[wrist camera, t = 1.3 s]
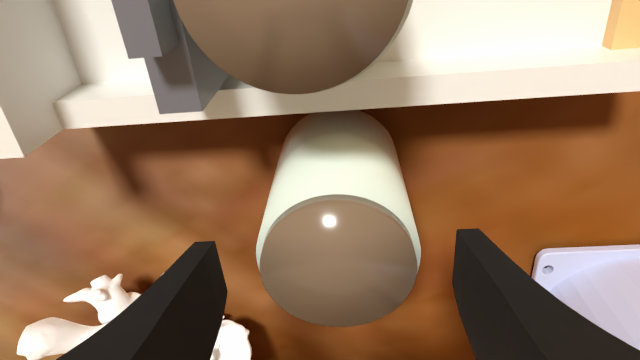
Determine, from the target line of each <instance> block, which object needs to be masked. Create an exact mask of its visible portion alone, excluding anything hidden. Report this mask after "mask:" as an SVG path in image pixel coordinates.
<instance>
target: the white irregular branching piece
mask: <svg viewBox="0 0 640 360" xmlns="http://www.w3.org/2000/svg"><path fill="white" fill-rule="evenodd" d="M164 273H165V272H164ZM164 273H163V274H164ZM163 274H162V275H163ZM122 276H123V275H122V274H118V275H117V276H116V277H114V278H113V279H112V280H111V279H110V278H109V277H108V276H107V275H104V276H101V277H99V278H97V279H95V280H93V281H92V282H91V283H90V284H91V286H92V288H85V289H82V290H80V291H78V292H77V293H74V294H72V295H70V296H68V297H66V298H65V299H64V300H63V301H64V302H78V301H86V302H88V303H90V304H92V305H93V306H94V307H95V308H96V309H97V311H98V319H99V321H100V323H102V324H103V325H99V326H86V325H80V324H77V323H73V322H71V321H68V320H64V319H61V318H56V317H50V318H46V319H42V320H39V321H37V322H35V323H33V324H30V325H28V326H26V328H25V330H24V331H23V333H22V335H21V337H20V340H19V343H18V347H17V354H18V355H22V356H25V357H27V359H28V360H38V359H41V358H43V357H44V356H48V355H56V354H64V353H67V352H68V351H70V350H71V349H73V348H74V347H76V346H77V345H79V344H80V343H82V342H83V341H85V340H86V339H88V338H89V337H90V336H92V335H93V334H94V333H96V332H97V331H98V330H100V329H101V328H102V327H104V326H105V325H106V324H108V323H109V322H110V321H111V320H113V319H114V318H115V317H116V316H118V315H119V314H120V313H121V312H122V311H124V310H125V309H126V308H127V307H128V306H129V305H130V304H131V303H132V302H134V301H135V300H136V299H137V298H138V297H139V296H140V295H141V294H139V293H136V292H129V293H126V291H125V290H124V289H123V288H122V287H121V286H120V283H121V280H122ZM142 294H143V293H142ZM224 318H225V316H223V319H224ZM248 335H249V330H248V329H245V328H244V327H243V326H242V325H240V324H238V323H235V322H234V321H231V320H222V324H221V327H220V330H219V333H218V337H217V340H216V343H215V346H214V349H213V352H212V355H211V358H210V360H251V355H252V347H251V345H250V342H249V340H248Z"/></svg>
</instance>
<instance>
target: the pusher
mask: <svg viewBox="0 0 640 360" xmlns="http://www.w3.org/2000/svg"><path fill="white" fill-rule="evenodd" d="M111 1H112V5H113V8H114V11H115V15H116V18H117V21H118V25H119V28H120V32H121V35H122V38H123V42H124V45H125V48H126V52H127V55H128V58H129V59H135V58H144V60H145V64H146V68H147V71H148V75H149V78H150V82H151V85H152V89H153V92H154V96H155V99H156V103H157V107H158V110H159V114H171V113H186V112H200V111H203V110H204V108H205V107H206V106H207V105H208V103H209V102H210V101H211V99H212V98H213V97H214V95H215V94H216V93H217V91H218V90H219V89H220V87H221V86H222V85H223V83H224V82H225V81H226V80H227V78H228V77H229V76H230V75H229V74H228V73H226V72H225V71H224V70H222V69H221V68H220V67H218V66H217V65H216V64H215V63H214V62H213V61H212V60H210V59H209V58H208V57H207V55H206V54H205V53H204V52H203V51H202V50H201V49H200V48H199V47H198V45H197V44H196V43H195V41H194V40H193V38H192V37H191V36H190V34H189V33H188V31H187V29H186V27H185V26H184V24H183V22H182V20H181V18H180V16H179V14H178V11H177V9H176V6H175V4H174V1H173V0H111Z"/></svg>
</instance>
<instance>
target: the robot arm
mask: <svg viewBox="0 0 640 360" xmlns="http://www.w3.org/2000/svg"><path fill="white" fill-rule="evenodd" d="M548 265H549V266H548ZM545 266H548V267H547V268H544V267H545ZM452 284H453V288H454V293H455V297H456V301H457V305H458V309H459V314H460V316H461V319H462V322H463V325H464V327H465V330H466V333H467V336H468V338H469V341H470V344H471V346H472V349H473V352H474V354H475V357H476V360H640V245H617V246H593V247H569V248H548V249H543V250H541V251H540V252H539V253H538V254H537V255H536V258H535V263H534V267H533V272H532V277H530V276H529V275H528V274H527V273H526V272H525V271H523V270H522V269H521V268H520V267H519V266H518V265H517V264H515V263H514V262H513V261H512V260H511V259H510V258H509V257H508V256H507V255H506V254H505V253H504V252H503V251H501V250H500V249H499V248H498V247H497V246H496V245H495V244H494V243H493V242H492V241H491V240H490V239H489V238H488V237H487V236H486V235H485V234H484V233H483V232H482V231H480V230H479V229H458V230H457V234H456V245H455V257H454V268H453V279H452ZM227 292H228V291H227V287H226V283H225V279H224V276H223V272H222V268H221V264H220V260H219V256H218V252H217V248H216V244H215V241H207V242H195V243H194V244H193V245H192V246H190V247H189V248H188V249H187V250H186V251H185V252H184V253H183V254H182V255H181V256H180V257H179V259H178V260H177V261H176V262H175V263H174V264H173V265H172V266H171V267H170V268H169V269H168V270H167V271H166V272H165V273H164V274H163V275H161V276H160V277H159V278H158V279H157V280H156V281H155V282H154V283H153V284H152V285H151V286H150V287H149V288H148V289H147V290H146V291H145V292H144V293H143V294H141V295H140V296H139V297H138V298H137V299H136V300H135V301H134V302H132V303H131V304H130V305H129V306H128V307H127V308H126V309H125V310H124V311H122V312H121V313H120V314H119V315H118V316H116V317H115V318H114V319H113V320H111V321H110V322H109V323H108V324H106V325H105V326H104V327H102V328H101V329H100V330H98V331H97V332H96V333H94V334H93V335H92V336H90V337H89V338H88V339H86V340H85V341H83V342H82V343H80V344H79V345H77V346H76V347H74V348H73V349H71V350H70V351H68V352H67V353H65V354H64V355H62V356H61V357H59V358H58V359H56V360H210V358H211V355H212V352H213V349H214V346H215V343H216V340H217V337H218V333H219V330H220V327H221V324H222V320H223V314H224V309H225V304H226V298H227Z"/></svg>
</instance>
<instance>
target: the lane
mask: <svg viewBox="0 0 640 360" xmlns="http://www.w3.org/2000/svg"><path fill="white" fill-rule="evenodd" d="M631 91H640V0H413V3H412V6H411V9H410V12H409V15H408V17H407V19H406V21H405V23H404V25H403V27H402V30H401V31H400V33H399V34H398V36H397V37H396V39H395V41H394V42H393V44H392V45H391V46H390V47H389V49H388V50H387V51H386V52H385V54H384V55H383V56H382V57H381V58H380V59H379V60H378V61H377V62H376V63H375V64H374V65H373V66H372V67H370V68H369V69H368V70H366V71H365V72H364V73H362V74H361V75H360V76H358V77H356V78H354V79H353V80H351V81H349V82H347V83H345V84H343V85H340V86H338V87H335V88H333V89H329V90H326V91H322V92H317V93H310V94H281V93H273V92H269V91H265V90H261V89H258V88H255V87H253V86H250V85H248V84H245V83H243V82H241V81H240V80H238V79H236V78H234V77H232V76H231V75H230V76H229V77H228V78H227V80H226V81H225V82H224V83H223V85H222V86H221V87H220V89H219V90H218V91H217V93H216V94H215V95H214V97H213V98H212V99H211V101H210V102H209V103H208V105H207V106H206V107H205V108H204V110H203V111H200V112H186V113H171V114H159V110H158V107H157V103H156V99H155V96H154V92H153V89H152V85H151V82H150V78H149V75H148V71H147V68H146V64H145V60H144V58H135V59H129V58H128V55H127V52H126V48H125V45H124V42H123V38H122V35H121V32H120V28H119V25H118V21H117V18H116V15H115V11H114V8H113V5H112V1H111V0H0V159H2V158H19V157H25V156H27V155H28V154H29V153H31V152H32V151H34V150H35V149H36V148H38V147H39V146H41V145H42V144H43V143H45V142H46V141H48V140H49V139H50V138H52V137H53V136H55V135H56V134H57V133H59V132H60V131H62V130H63V129H73V128H88V127H103V126H118V125H133V124H149V123H164V122H179V121H194V120H209V119H224V118H239V117H254V116H269V115H284V114H299V113H314V112H329V111H345V110H360V109H375V108H390V107H405V106H420V105H435V104H450V103H465V102H480V101H495V100H510V99H525V98H541V97H556V96H571V95H586V94H601V93H616V92H631Z"/></svg>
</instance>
